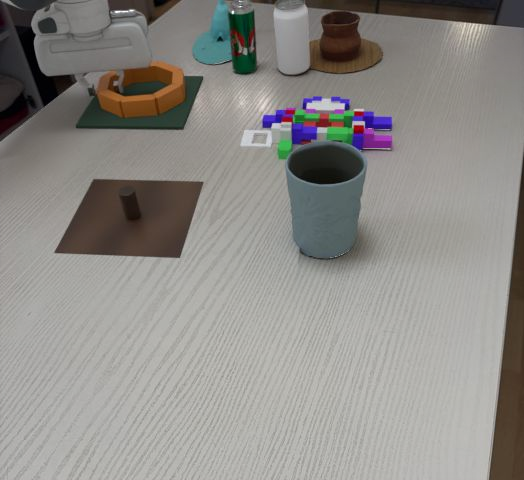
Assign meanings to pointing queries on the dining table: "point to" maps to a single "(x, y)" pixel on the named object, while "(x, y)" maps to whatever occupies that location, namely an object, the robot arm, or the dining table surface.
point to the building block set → (320, 126)
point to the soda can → (242, 36)
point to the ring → (143, 103)
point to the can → (292, 36)
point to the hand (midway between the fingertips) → (105, 93)
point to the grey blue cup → (325, 196)
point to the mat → (166, 120)
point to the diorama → (215, 38)
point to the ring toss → (132, 218)
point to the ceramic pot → (342, 45)
